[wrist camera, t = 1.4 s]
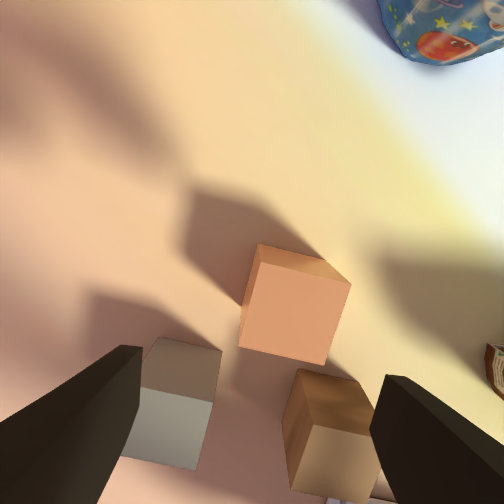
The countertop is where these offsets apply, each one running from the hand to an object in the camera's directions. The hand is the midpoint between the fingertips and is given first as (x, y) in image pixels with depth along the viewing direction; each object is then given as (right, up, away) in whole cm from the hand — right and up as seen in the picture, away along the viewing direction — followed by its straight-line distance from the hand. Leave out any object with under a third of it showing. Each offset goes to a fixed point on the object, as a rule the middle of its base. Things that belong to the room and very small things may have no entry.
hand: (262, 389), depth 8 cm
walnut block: (+5, -7, +12) cm, 15 cm away
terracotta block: (+2, +2, +10) cm, 11 cm away
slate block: (-5, -4, +12) cm, 14 cm away
